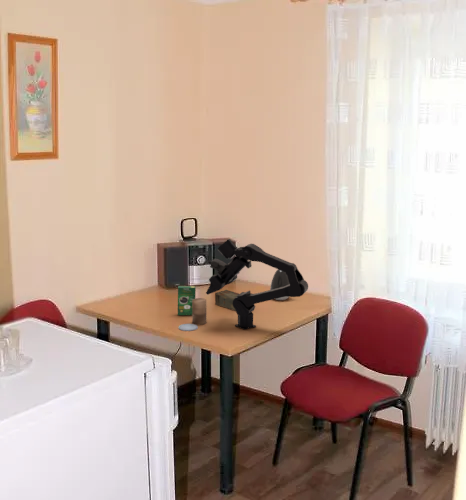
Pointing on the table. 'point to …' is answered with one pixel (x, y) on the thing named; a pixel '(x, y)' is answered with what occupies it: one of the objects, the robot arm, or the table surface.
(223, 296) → the beverage carton
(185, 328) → the slate pad
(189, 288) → the coffee box
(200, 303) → the brown rounded cylinder
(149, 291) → the table surface
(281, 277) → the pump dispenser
